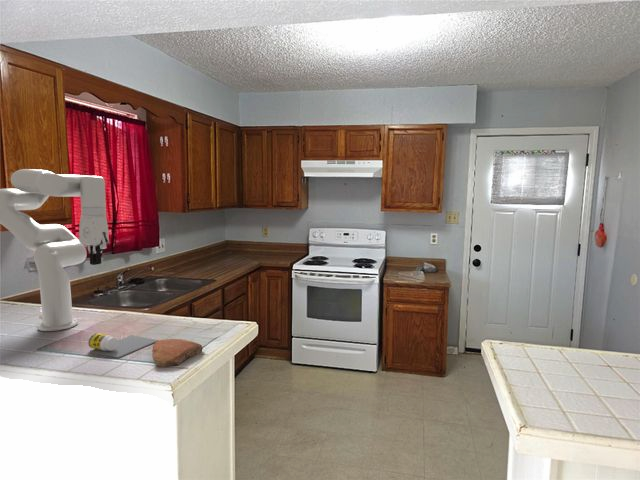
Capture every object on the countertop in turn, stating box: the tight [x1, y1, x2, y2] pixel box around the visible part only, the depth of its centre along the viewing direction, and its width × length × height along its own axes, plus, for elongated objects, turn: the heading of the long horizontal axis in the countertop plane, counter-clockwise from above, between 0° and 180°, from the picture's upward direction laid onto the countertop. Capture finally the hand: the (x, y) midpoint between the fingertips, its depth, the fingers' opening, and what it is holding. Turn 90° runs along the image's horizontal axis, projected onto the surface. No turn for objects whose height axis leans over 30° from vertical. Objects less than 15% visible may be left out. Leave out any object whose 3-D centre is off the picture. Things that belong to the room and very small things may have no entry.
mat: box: [89, 334, 159, 359], centre depth 136 cm, size 12×16×1 cm
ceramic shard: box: [151, 338, 203, 368], centre depth 126 cm, size 15×6×15 cm
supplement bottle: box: [87, 332, 118, 351], centre depth 132 cm, size 5×5×8 cm
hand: (95, 264), depth 147 cm, fingers closed
